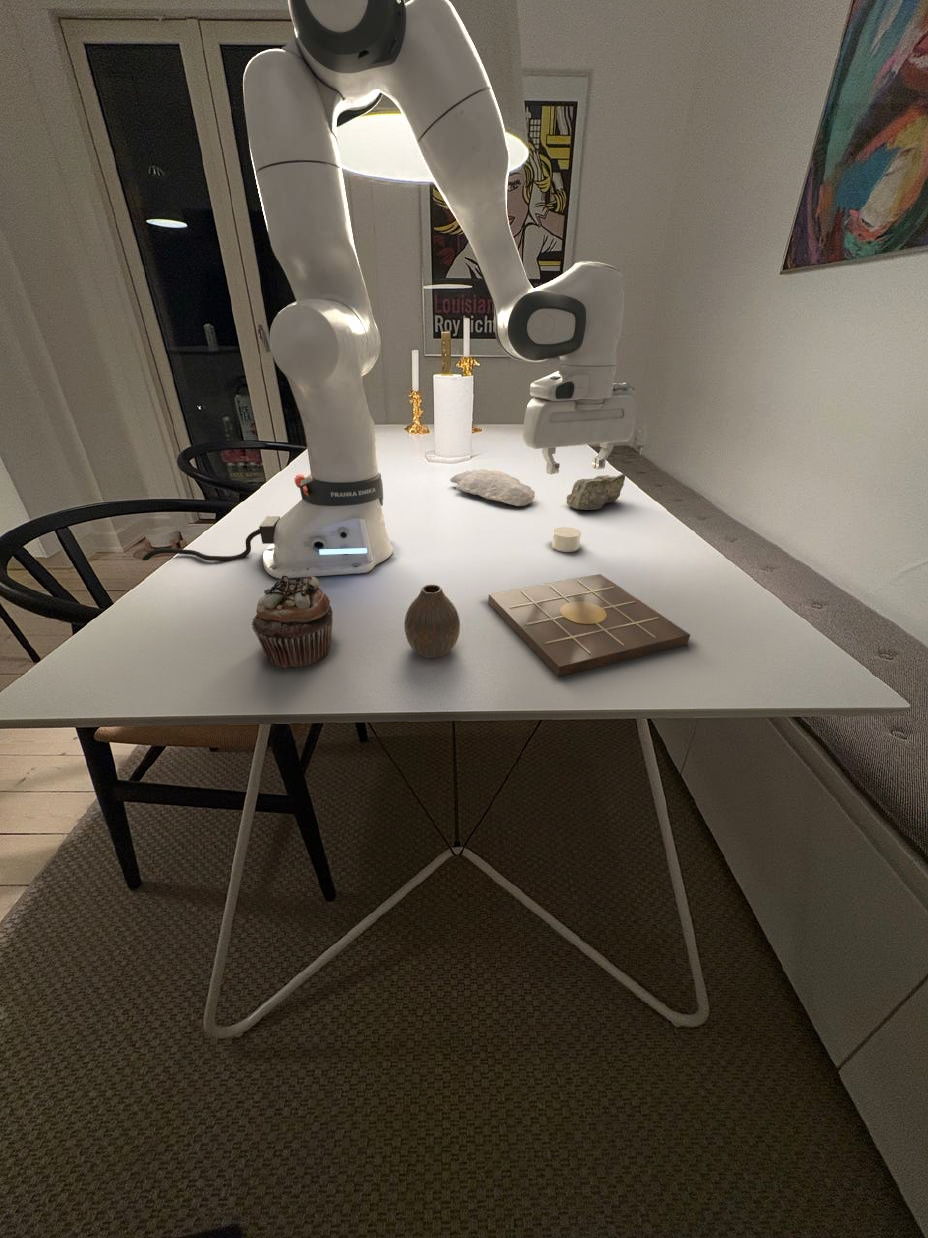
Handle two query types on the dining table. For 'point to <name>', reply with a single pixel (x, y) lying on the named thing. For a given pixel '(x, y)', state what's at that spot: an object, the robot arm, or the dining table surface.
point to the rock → (595, 492)
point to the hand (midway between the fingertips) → (575, 470)
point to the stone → (494, 486)
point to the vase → (432, 623)
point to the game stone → (566, 539)
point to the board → (585, 623)
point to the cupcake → (294, 622)
